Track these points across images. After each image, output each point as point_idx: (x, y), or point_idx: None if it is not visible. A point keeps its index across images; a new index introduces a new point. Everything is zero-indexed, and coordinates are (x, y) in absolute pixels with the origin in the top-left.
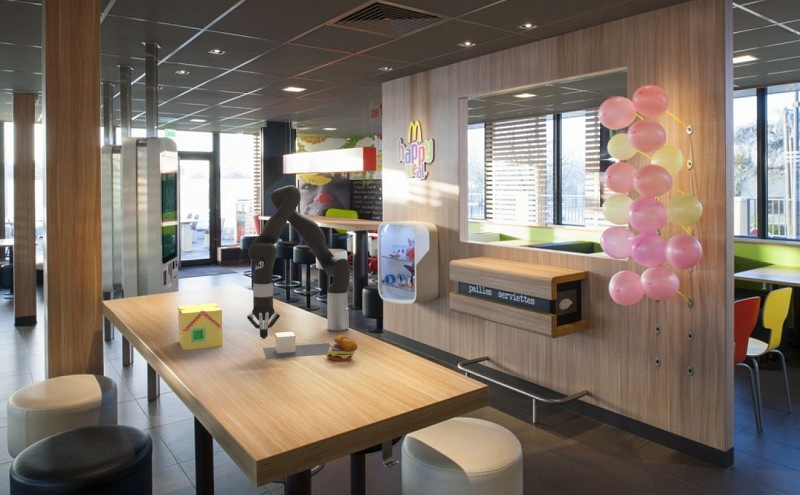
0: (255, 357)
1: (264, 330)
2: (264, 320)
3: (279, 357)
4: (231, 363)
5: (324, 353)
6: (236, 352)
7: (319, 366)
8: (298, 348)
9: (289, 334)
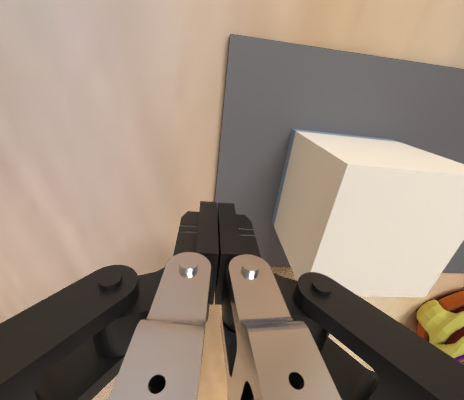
0: (162, 214)
1: (219, 297)
2: (243, 382)
3: (267, 260)
4: (48, 265)
5: (453, 261)
6: (35, 65)
7: (350, 354)
8: (418, 147)
9: (417, 255)
